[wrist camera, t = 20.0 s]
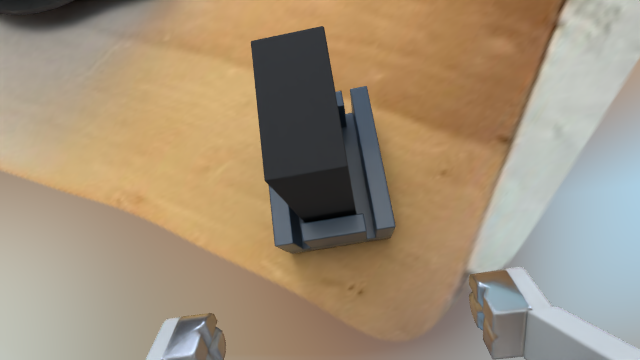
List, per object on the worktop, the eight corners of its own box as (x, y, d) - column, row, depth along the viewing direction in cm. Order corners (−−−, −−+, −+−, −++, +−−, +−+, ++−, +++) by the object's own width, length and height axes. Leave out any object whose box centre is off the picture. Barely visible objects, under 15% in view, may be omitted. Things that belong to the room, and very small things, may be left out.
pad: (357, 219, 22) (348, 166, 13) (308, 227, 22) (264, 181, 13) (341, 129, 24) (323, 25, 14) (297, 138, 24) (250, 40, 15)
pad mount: (391, 237, 23) (395, 226, 19) (290, 253, 23) (274, 246, 19) (367, 117, 25) (366, 85, 21) (277, 134, 26) (260, 105, 22)
